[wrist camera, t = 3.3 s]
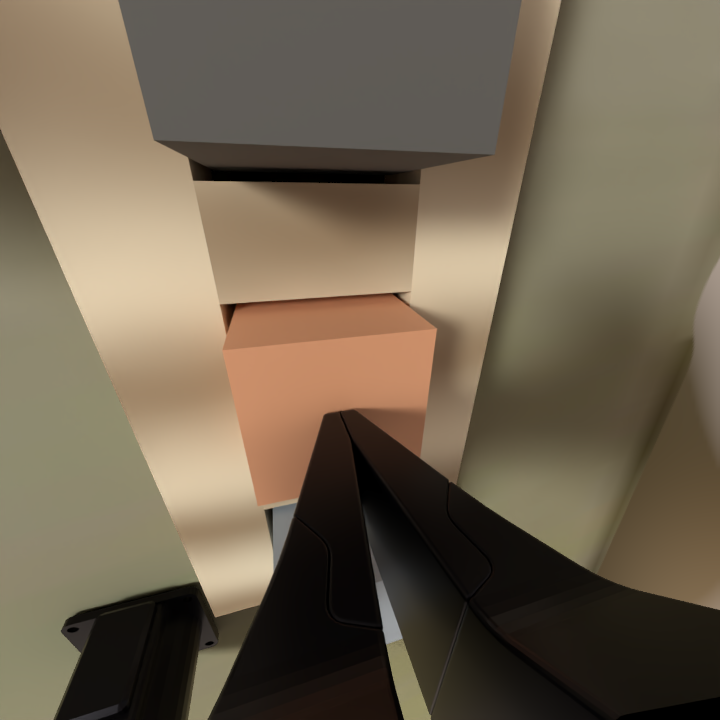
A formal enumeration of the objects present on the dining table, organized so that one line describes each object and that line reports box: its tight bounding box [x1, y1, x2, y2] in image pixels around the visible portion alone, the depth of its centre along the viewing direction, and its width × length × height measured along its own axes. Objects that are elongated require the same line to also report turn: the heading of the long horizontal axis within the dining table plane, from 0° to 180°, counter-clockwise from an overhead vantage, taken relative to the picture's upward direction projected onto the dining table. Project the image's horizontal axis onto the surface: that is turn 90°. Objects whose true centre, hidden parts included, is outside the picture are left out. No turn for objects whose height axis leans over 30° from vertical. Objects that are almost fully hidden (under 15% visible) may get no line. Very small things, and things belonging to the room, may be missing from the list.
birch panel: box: [0, 0, 561, 617], centre depth 12 cm, size 25×12×3 cm, turn 0°
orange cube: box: [222, 293, 437, 506], centre depth 10 cm, size 5×5×5 cm
